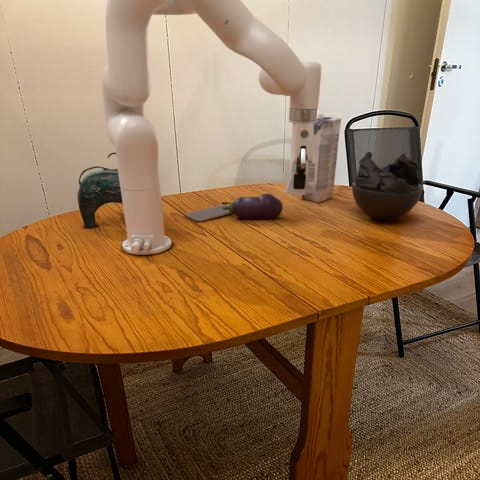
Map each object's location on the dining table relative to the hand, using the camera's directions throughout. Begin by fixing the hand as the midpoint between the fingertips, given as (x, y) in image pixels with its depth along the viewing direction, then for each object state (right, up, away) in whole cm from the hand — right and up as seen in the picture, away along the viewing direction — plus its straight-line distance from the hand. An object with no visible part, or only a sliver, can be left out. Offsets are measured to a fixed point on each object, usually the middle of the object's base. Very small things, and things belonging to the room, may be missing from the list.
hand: (297, 185), depth 126 cm
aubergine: (-12, -7, +11) cm, 18 cm away
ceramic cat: (-53, -9, +7) cm, 54 cm away
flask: (0, -2, +1) cm, 2 cm away
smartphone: (-25, -5, +14) cm, 29 cm away
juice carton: (+11, +4, +29) cm, 31 cm away
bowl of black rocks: (+27, -7, +10) cm, 30 cm away
